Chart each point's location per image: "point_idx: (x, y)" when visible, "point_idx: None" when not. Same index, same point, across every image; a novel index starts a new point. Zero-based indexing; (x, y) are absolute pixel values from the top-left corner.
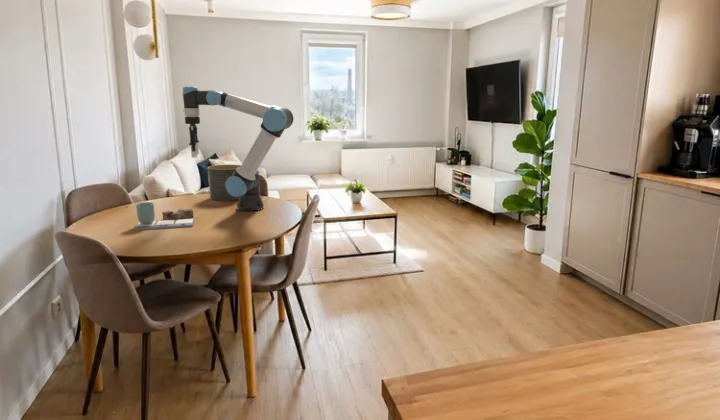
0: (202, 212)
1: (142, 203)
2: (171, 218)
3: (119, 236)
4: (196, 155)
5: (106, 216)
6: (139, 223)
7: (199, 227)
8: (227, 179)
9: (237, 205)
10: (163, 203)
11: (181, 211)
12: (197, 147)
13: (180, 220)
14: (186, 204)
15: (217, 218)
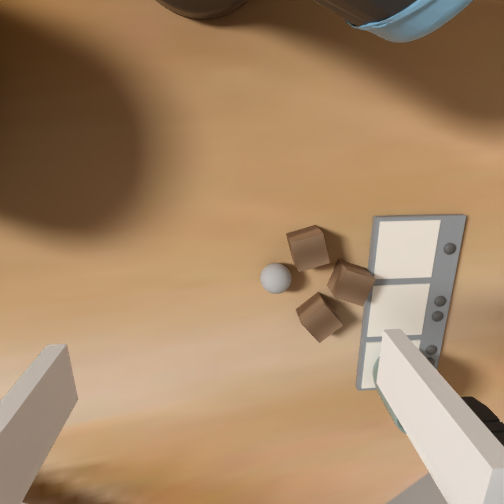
0: (236, 195)
1: (399, 423)
2: (325, 301)
3: (479, 401)
4: (411, 346)
5: (224, 487)
6: None
7: (482, 188)
8: (468, 2)
9: (216, 9)
10: None
11: (290, 278)
12: (13, 429)
13: (391, 265)
14: (59, 279)
15: (367, 122)
